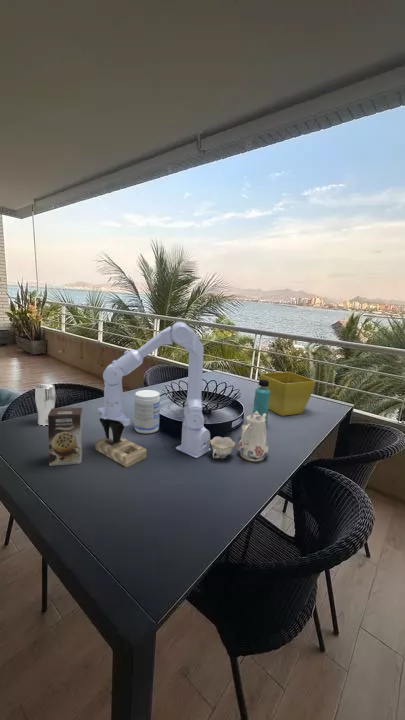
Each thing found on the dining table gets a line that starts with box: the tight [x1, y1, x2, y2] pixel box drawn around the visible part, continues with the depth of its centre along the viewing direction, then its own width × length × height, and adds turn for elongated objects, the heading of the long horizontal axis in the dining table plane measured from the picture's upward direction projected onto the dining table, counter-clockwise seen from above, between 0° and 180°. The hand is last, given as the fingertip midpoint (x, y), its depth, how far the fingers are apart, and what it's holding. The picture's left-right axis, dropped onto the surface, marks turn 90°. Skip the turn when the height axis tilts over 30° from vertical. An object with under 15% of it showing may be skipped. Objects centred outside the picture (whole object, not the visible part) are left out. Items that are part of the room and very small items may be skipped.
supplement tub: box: [133, 389, 161, 435], centre depth 124 cm, size 10×10×15 cm
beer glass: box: [34, 383, 56, 427], centre depth 124 cm, size 7×7×15 cm
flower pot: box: [259, 371, 316, 417], centre depth 154 cm, size 19×19×17 cm
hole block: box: [95, 436, 147, 468], centre depth 105 cm, size 16×8×3 cm, turn 52°
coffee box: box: [47, 407, 83, 467], centre depth 98 cm, size 9×6×16 cm
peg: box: [109, 426, 118, 446], centre depth 107 cm, size 3×3×8 cm
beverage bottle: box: [252, 379, 270, 425], centre depth 133 cm, size 6×7×20 cm
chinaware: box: [209, 411, 270, 463], centre depth 111 cm, size 28×17×17 cm, turn 142°
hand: (113, 439), depth 107 cm, fingers open, 3 cm apart
